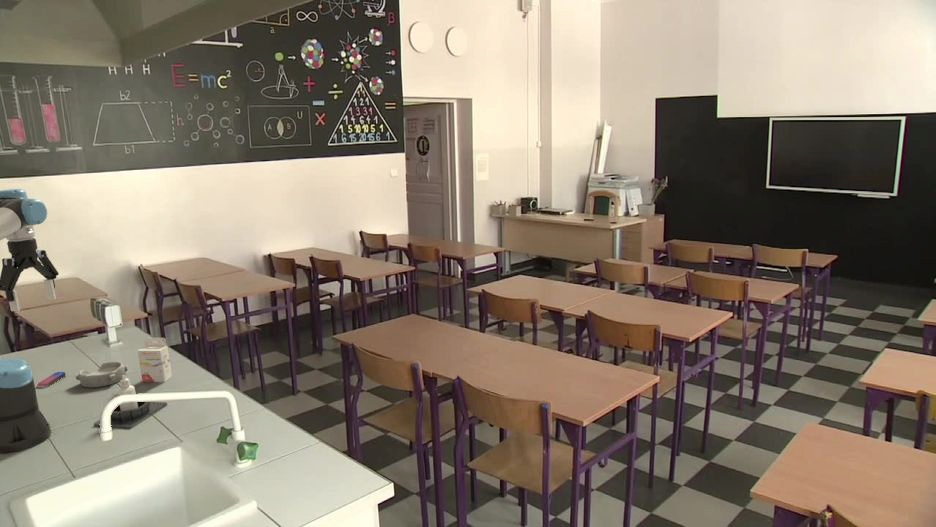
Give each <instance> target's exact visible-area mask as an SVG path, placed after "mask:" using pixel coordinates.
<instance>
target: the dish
mask: <svg viewBox="0 0 936 527" xmlns="http://www.w3.org/2000/svg"><path fill="white" fill-rule="evenodd" d="M128 369H129V368H128V365H127V364H123V362H121V361H108V362H107V361H106V362H103V363H101V366H100V367H99V368H98V369H97V370H96V371H93V372H89V371H86V370H85V369H81V370H80V371H79V372H78V373H76V374H75V375H74V377H75V379H76V380H77V381H79V382H80V385H81V386H82V387H84V388H99V387H106V386H110V385H113V384H116V383H118V382H120V380H122V376H123V375H125V376H127V375H126V372H128Z"/></svg>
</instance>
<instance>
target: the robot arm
mask: <svg viewBox="0 0 936 527" xmlns="http://www.w3.org/2000/svg"><path fill="white" fill-rule="evenodd" d="M47 209H48V208H47V206H46V204H45V203H44V202H43V201H41V200H40V199H38V198H29V197H28V195H27V192H26V190H25V189H23V188H13V189H2V190H0V241H2V240H3V239H6V240H7V242H6V245H7V248H8V253H10V255H11V257H10V258H2V259H1V262H2V263H1V264H2V268H1V272H0V291H2V292H4V293H5V296H6V301H7V302H8V303H9V308H10V311H11V312H21V307H20V301H19V297H18V292H17V289H15V287H16V285H17V283H18V281H19V279H20V276H21V274H22V272H23V271H25V270H27V269H29V268H33V269H34V270H35V271H36V272H38V273H39V274H40V275H41V276H43V277H44V278H45V279H43V284H44V288H45V294H46V298H47V300H56V299H57V296H56V292H55V291H56V290H55V288H56V284H55V279H57V276H59V275H60V273H59V271H58V270H57V268H56V267H55V266H54V264H53V262H52V261H51V260H50V258H49V257H48V254H47V251H46V250H45V249H38V244H37V239H36V238H34V237H35V236H36V235H35V229H34V226H36V225H41V224H43V223H44V222H45V220H46V219H47V217H48V210H47ZM51 434H52V429H51V426H50V423H49V422H48V421H47V419H46V417H45V416H44V414H43V413H42V411H41V410H40V407H39V402H38V397H37V390H36V387H35V382H34V374H33V372H32V369H31V366H30V364H29V363H28V362H27V361H26V360H24V359H19V358H4V359H1V358H0V454H7V453H8V452H9V453H14V451H15V452H19V451H22V450H26V449H29V448H31V447H34V446H36V445H39V444H40V443H42V442H44V441H46V440H47V439H48V438H49V437H50V436H51Z"/></svg>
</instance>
